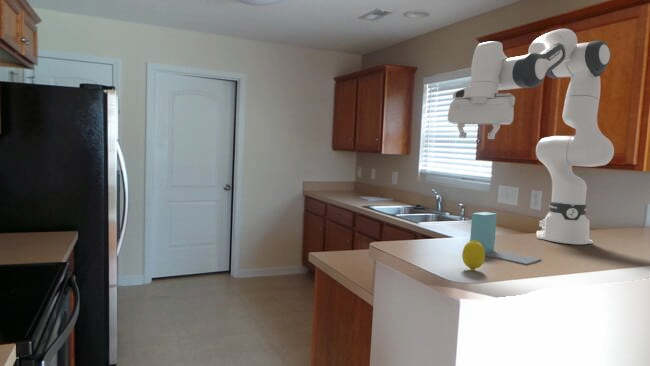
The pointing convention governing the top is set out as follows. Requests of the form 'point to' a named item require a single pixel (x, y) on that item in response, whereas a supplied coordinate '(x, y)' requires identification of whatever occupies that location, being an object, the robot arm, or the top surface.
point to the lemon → (473, 254)
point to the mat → (512, 257)
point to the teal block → (484, 229)
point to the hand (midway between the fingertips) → (476, 138)
